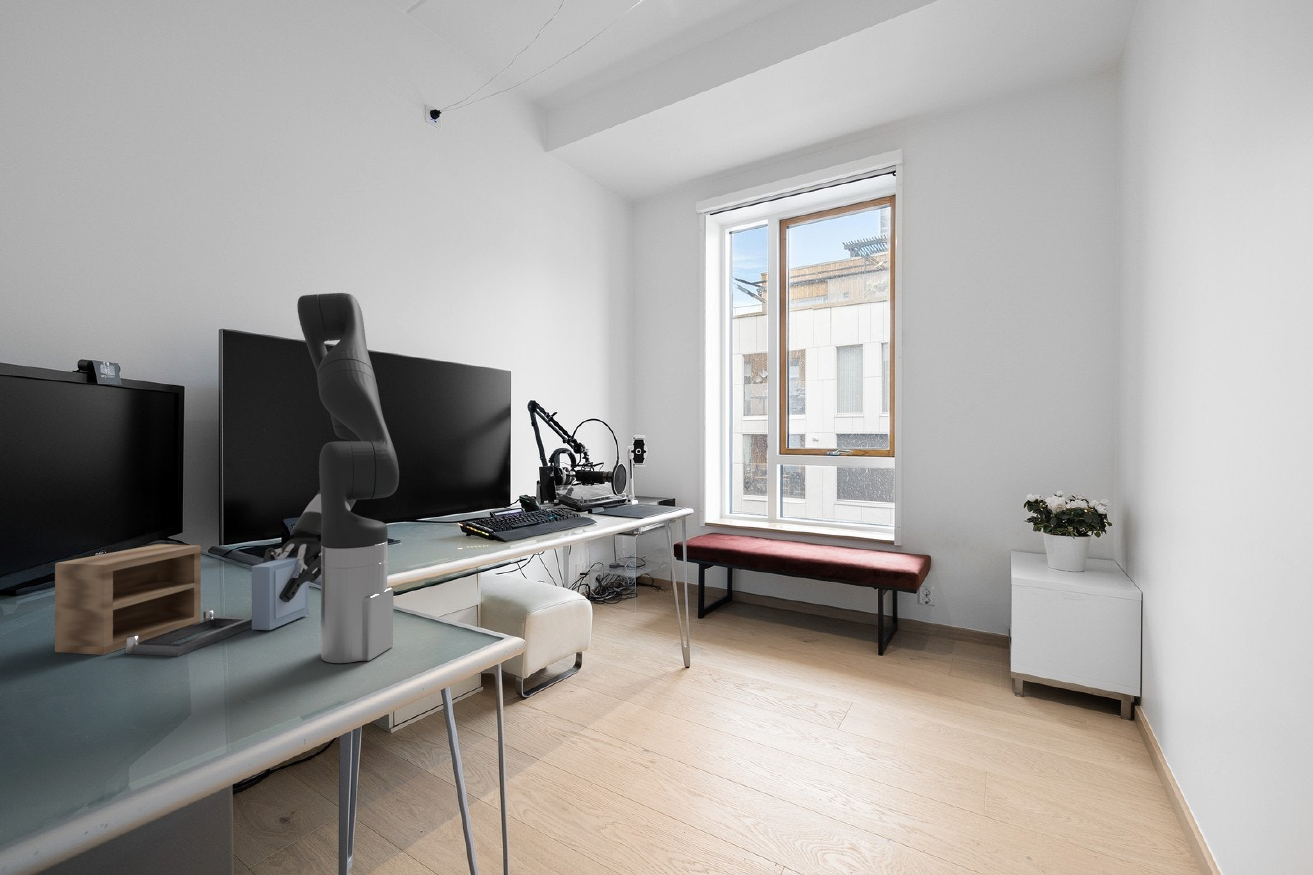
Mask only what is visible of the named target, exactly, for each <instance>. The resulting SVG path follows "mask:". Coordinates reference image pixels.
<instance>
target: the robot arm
mask: <svg viewBox="0 0 1313 875" xmlns="http://www.w3.org/2000/svg"><path fill="white" fill-rule="evenodd" d="M296 305H297V307H296V308H297V313H298V314H297V316H298V321H299V325H300V328H301V331H302V333H303V338H304V339H305V340H304V341H305V343H306V346H307V348H308V352H309V354H310V357H311V360H312V364H313V366H314V369H315V371H316V378H317V381H316V382H317V387H318V394H319V395H318V396H319V400H320V402H321V404H322V405H323V407H324V408H325V409H326V411H328V413H329V415H330V419H331V423H332V427H333V432H334V434H335V436H337V437H338V438H339V439H343V440H346V441H341V440H340V441H329V442H327V443H325V444H324V445H323V447H321V450H320V454H319V460H318V461H319V463H318V472H319V473H318V474H319V475H318V476H319V488H320V489H319V490H318V492H317V494H316V495H315V496H314V498H313V499H312V500H311V501H310V502H309V503H308V505H307V506H306V507H305V509H304V511H303V512H302V514H301V515H300V517H299V518H298V519H297V521H296V523H295V524H294V526H293V527H292V529H291V530H290V534H289V540H288V541H287V542H286V543H284V544H283V545H282V547H280V548H276V549H275V548H273V547H268V548H267V549H266V550H265V552H264V557H263V560H262V563H266V562H270V561H274V560H277V559H281V558H288V557H290V558H297V559H298V560H297V562H296V564H295V565H296V569H295V570H294V572H293V575H292V577H293V579H289V581H288V582H287V584H286V586H285V587H284V589H283V590H282V592H281V594H280V595H279V598H280V599H281V600H282V601H283V602H290V600H291V599H293V598H294V596H295V595H296V593H297V591H298V590H299V588H300V586H301V585H303V584H304V583H305V582H307V581H309V583H314V582H315V581H316V580H318V578H319V577H320V658H321V660H322V661H324V662H326V663H331V664H346V663H353V662H359V661H371V660H373V659H374V658H376V657H378V656H379V655H381V654H383V653H384V652H386V651H387V650H390V649H391V648H392V647H394V588H392V587H388V545H389V544H388V537H389V536H388V532H389V531H388V526H387V524H386V523H384V522H383V521H381V520H380V521H379V520H376V519H372V518H367V517H363V516H361V515H358V514H355V513H354V512H352V511H351V510H352V508H353V507H354V505H355V504H356V502H357V501H358V500H372V499H373V500H374V499H382V498H383V499H384V498H387V497H390V496H392V495H393V494H395V492H396V491H397V490H398V487H399V482H400V470H399V462H398V457H397V453H396V450H395V448H394V444H393V442H392V439H391V436H390V433H389V430H388V427H387V424H386V422H385V419H384V415H383V411H382V405H381V401H380V396H379V389H378V384H377V381H376V380H377V379H376V375H375V372H374V368H373V366H372V362H371V358H370V355H369V351H368V347H367V340H366V331H365V324H364V322H365V321H364V317H363V311H362V308H361V305H360V303H359V301H358V300H357V298H356V297H355V296H354V294H351V293H346V292H336V293H335V292H333V293H318V294H317V293H316V294H304V295H300V296H299V297H298V299H297V304H296ZM332 341H338V342H337V343H336V344H335V345H334V346H333V347H332V348H331V349H330V350H329V351H328V350H327V346H326V344H325V342H332ZM301 572H302V573H301Z"/></svg>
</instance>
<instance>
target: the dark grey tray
mask: <svg viewBox="0 0 1313 875" xmlns="http://www.w3.org/2000/svg"><path fill="white" fill-rule="evenodd" d="M215 627H216V628H217V627H218V629H215V630H212V631H210V632H208V633H205V634H203V635H202V634H201V635H199V636H197V637H194V638H192V639H189V640H186V641H184V642H181V643H173V642H175V641H176V642H177V641H178V640H182V639H185V638H187V637H190V636H192V635H195V634H199V633H201V632H203V631H206V630H208V629H211V628H215ZM219 627H220V628H219ZM250 629H252V617H241V616H225V615H224V616H221V615H220V616H218V615H215V616H214V610H213V609H208V610H204V611H203V620H200V621H199V622H196V623H193V624H191V625H188V626H185V627H182V628H179V629H176V630H173V631H170V632H167V633H164V634H162V635H159V636H156V637H153V638H150V639H147V640H144V641H141V642H138V635H131V636H128V637H126V648H125V651H126V655H131V654H133V655H147V656H148V655H149V656H167V657H169V656H170V657H180V656H183V655H186V654H188V653H190V652H193V651H195V650H198V649H200V648H203V647H205V646H209V645H211V644H213V643H216V642H219V641H222V640H224V639H226V638H228V637H231V636H234V635H236V634H239V633H242V632H244V631H246V630H250Z"/></svg>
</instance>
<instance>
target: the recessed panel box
mask: <svg viewBox="0 0 1313 875" xmlns="http://www.w3.org/2000/svg"><path fill="white" fill-rule="evenodd" d="M297 560H298V559H297V558H290V557H288V558H281V559H277V560H274V561H270V562H266V563H263V562H262V563H258V564H255V565H252V566H251V618H252V628H251V630H259V631H261V630H262V631H272V630H274V629H277V628H278V627H281V626H283V625H286V624H288V623H291V622H293V621H295V620H297V619H301V618H302V617H304V616H305V617H306V616H307V615H309V614H310V612H309V611H310V610H309V609H310V608H309V602H310V601H309V598H310V594H309V589H310V588H309V587H310V586H309V583H310V581H307V582H305V583H304V584H303V585H301V586H300V588H299V590H298V591H297V593H296V595H295V596H294V598H293V599H291V600H290V602H283V601H282V600H281V599H280V598H279V595H280V594H281V592H282V590H283V589H284V587H285V586H286V584H287V582H288V581H289V579H293V577H292V575H293V572H294V570H295V569H296V565H295V564H296V562H297ZM301 573H302V572H301Z"/></svg>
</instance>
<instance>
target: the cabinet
mask: <svg viewBox="0 0 1313 875" xmlns="http://www.w3.org/2000/svg"><path fill="white" fill-rule="evenodd" d="M201 548H202V547H201V545H197V544H196V545H195V544H194V545H193V544H166V543H165V544H162V543H158V544H157V543H156V544H152V545H146V546H141V547H136V548H131V549H124V550H120V551H115V552H114V551H113V552H108V553H103V554H98V555H93V556H88V557H82V558H75V559H71V560H66V561H60V562H55V563H54V584H55V585H54V595H55V596H54V611H55V612H54V653H64V654H65V653H66V654H67V653H69V654H83V655H99V656H100V655H101V656H103V655H104V656H105V655H108V654H111V653H114V652H117V651H119V650H122V649H126V637H128V636H131V635H138V642H141V641H144V640H147V639H150V638H153V637H156V636H159V635H162V634H164V633H167V632H170V631H173V630H176V629H179V628H182V627H185V626H188V625H191V624H193V623H196V622H199V621H201V601H202V600H201V599H202V598H201V596H202V595H201V592H202V591H201V590H202V589H201V586H202V584H201V576H202V574H201V568H202V567H201V566H202V562H201V560H202V558H201V555H202V554H201V552H202V551H201V550H202V549H201Z"/></svg>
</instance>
